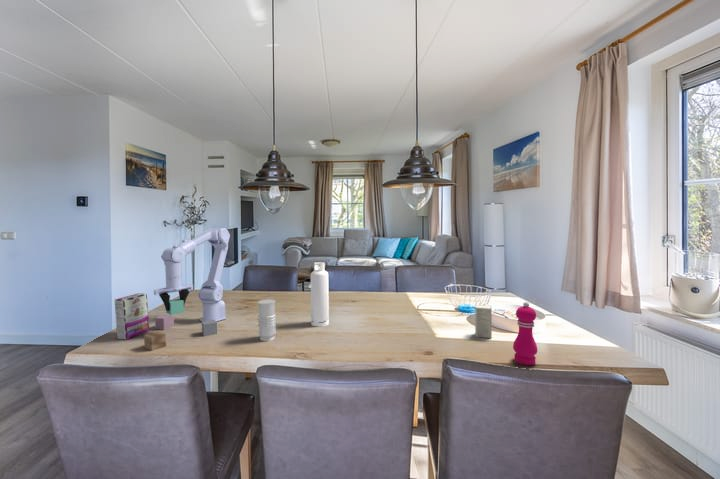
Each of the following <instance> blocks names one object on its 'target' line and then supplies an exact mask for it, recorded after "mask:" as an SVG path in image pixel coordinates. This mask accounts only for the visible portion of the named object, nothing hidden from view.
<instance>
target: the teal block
mask: <svg viewBox="0 0 720 479" xmlns="http://www.w3.org/2000/svg"><path fill="white" fill-rule="evenodd" d="M169 305H170V311H166V310H165V313H166V314H167V315H172V316H174V315H177V314H182V313H185V305H184V301H183V300H181V299H180V298H175V299H170V300H169Z"/></svg>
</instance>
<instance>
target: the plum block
mask: <svg viewBox="0 0 720 479" xmlns="http://www.w3.org/2000/svg"><path fill="white" fill-rule="evenodd" d="M154 322H155V330H161V331H165V329H166V330H168V329H171V328H174V327H175V315H170V314H163V315H160V316H156V317H155V321H154ZM173 326H174V327H173Z"/></svg>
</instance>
